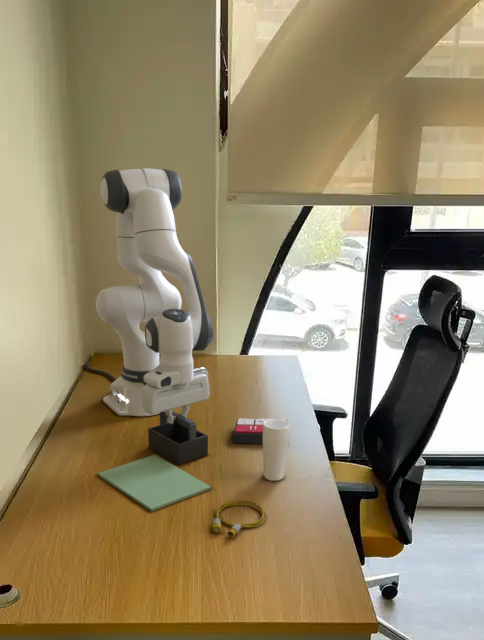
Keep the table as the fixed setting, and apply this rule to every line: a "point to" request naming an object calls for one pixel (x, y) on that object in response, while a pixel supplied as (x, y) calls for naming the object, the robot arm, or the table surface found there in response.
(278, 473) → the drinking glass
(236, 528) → the extension cord
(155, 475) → the desk mat
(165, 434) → the caddy bin
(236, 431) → the calculator
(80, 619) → the table surface
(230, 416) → the table surface
